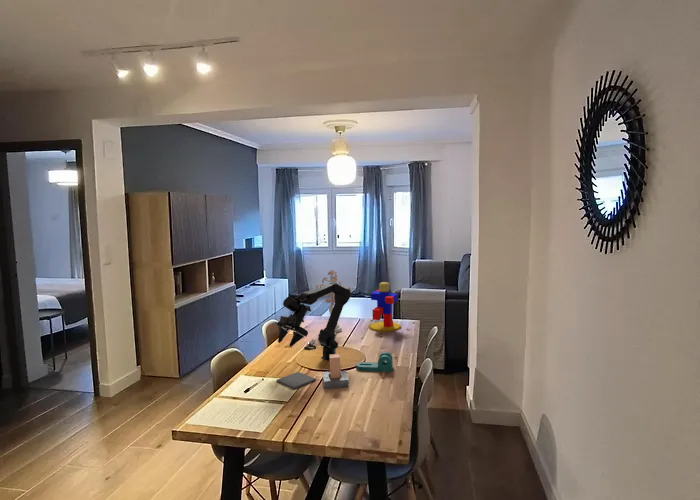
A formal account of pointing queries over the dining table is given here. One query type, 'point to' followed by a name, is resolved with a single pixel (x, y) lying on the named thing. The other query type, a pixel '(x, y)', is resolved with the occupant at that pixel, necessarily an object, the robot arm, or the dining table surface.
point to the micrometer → (310, 345)
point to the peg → (334, 366)
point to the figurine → (384, 309)
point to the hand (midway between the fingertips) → (284, 344)
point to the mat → (296, 380)
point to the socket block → (335, 380)
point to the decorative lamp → (332, 295)
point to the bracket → (377, 364)
